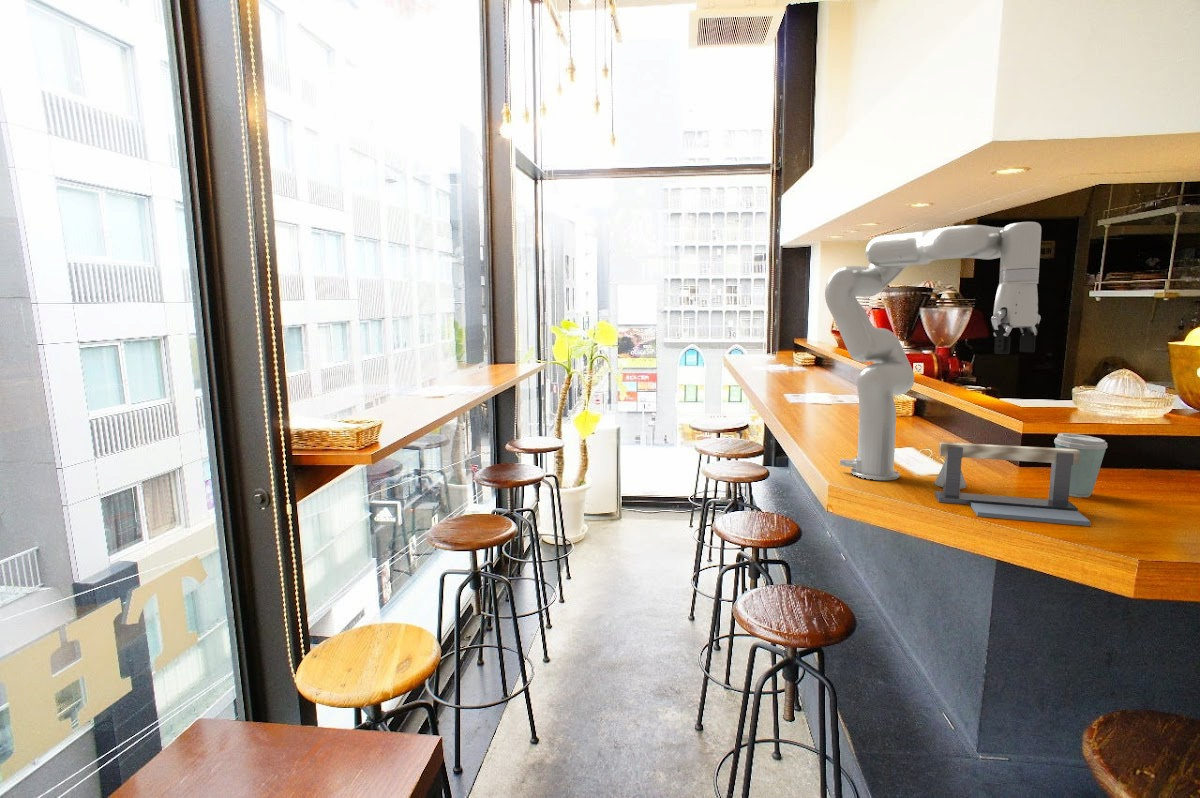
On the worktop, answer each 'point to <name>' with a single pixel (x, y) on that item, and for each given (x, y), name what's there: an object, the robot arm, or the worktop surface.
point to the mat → (1030, 514)
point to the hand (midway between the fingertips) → (1014, 353)
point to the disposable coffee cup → (1083, 461)
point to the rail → (1009, 452)
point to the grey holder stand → (1056, 496)
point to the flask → (940, 479)
